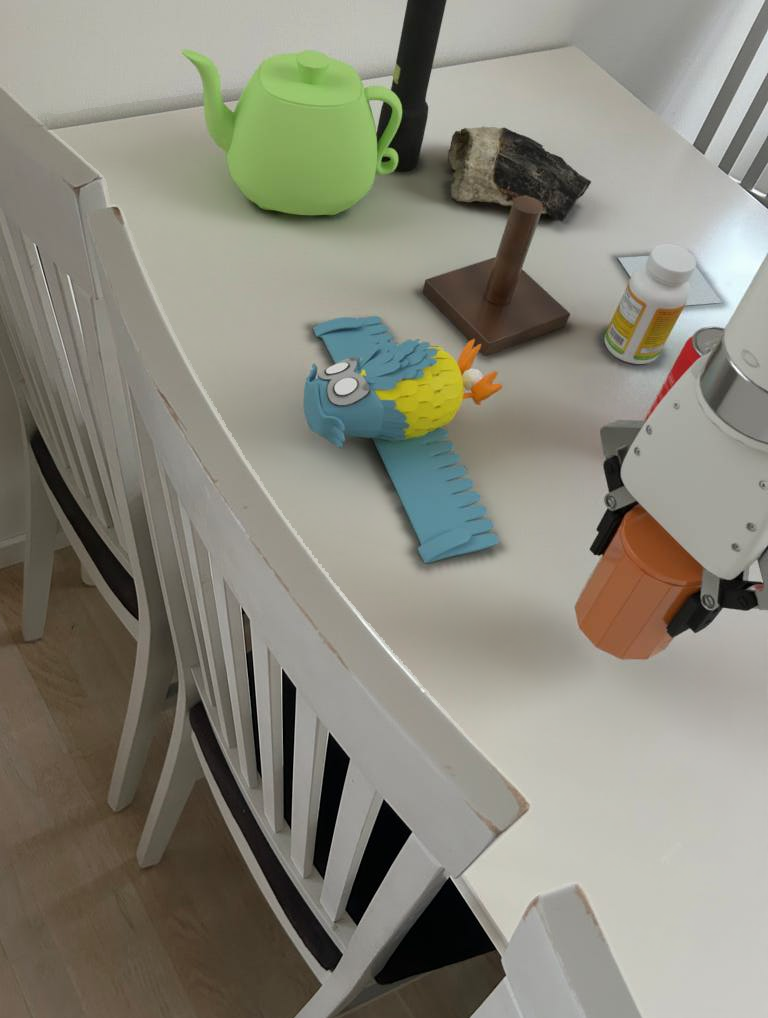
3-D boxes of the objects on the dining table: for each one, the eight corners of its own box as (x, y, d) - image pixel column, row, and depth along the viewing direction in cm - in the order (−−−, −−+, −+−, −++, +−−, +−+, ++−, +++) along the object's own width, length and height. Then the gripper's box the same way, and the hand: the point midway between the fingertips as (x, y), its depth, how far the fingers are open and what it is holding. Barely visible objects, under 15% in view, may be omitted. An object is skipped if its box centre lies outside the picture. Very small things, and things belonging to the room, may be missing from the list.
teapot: (177, 221, 97) (178, 86, 86) (183, 137, 106) (184, 4, 95) (396, 239, 99) (424, 109, 89) (385, 155, 108) (410, 27, 97)
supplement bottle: (664, 340, 95) (710, 251, 87) (651, 373, 92) (698, 284, 84) (610, 321, 96) (651, 231, 88) (596, 352, 93) (637, 263, 85)
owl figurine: (573, 465, 71) (379, 501, 68) (538, 541, 79) (361, 577, 75) (430, 232, 86) (263, 252, 82) (411, 314, 93) (257, 336, 89)
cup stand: (501, 266, 99) (535, 161, 90) (565, 326, 94) (608, 223, 85) (421, 292, 95) (448, 186, 86) (484, 356, 91) (520, 251, 82)
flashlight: (407, 143, 109) (365, 147, 108) (460, -114, 90) (410, -113, 88) (425, 169, 107) (382, 173, 106) (484, -90, 87) (433, -88, 86)
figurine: (666, 289, 99) (674, 273, 98) (654, 272, 101) (662, 255, 99) (686, 288, 100) (695, 272, 98) (674, 270, 101) (682, 254, 100)
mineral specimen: (455, 91, 105) (596, 100, 105) (444, 159, 111) (577, 168, 111) (460, 154, 97) (612, 163, 97) (448, 223, 103) (591, 232, 103)
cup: (625, 567, 72) (676, 484, 65) (690, 635, 70) (751, 556, 62) (556, 602, 70) (600, 521, 63) (620, 674, 67) (674, 598, 60)
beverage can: (617, 451, 86) (676, 339, 76) (653, 427, 88) (715, 315, 78) (663, 488, 84) (730, 378, 74) (699, 462, 86) (769, 353, 76)
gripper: (956, 469, 49) (777, 658, 64) (710, 268, 57) (601, 480, 72) (859, 523, 47) (696, 707, 61) (614, 305, 54) (521, 517, 69)
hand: (646, 583), depth 66 cm, fingers closed on cup, 6 cm apart
